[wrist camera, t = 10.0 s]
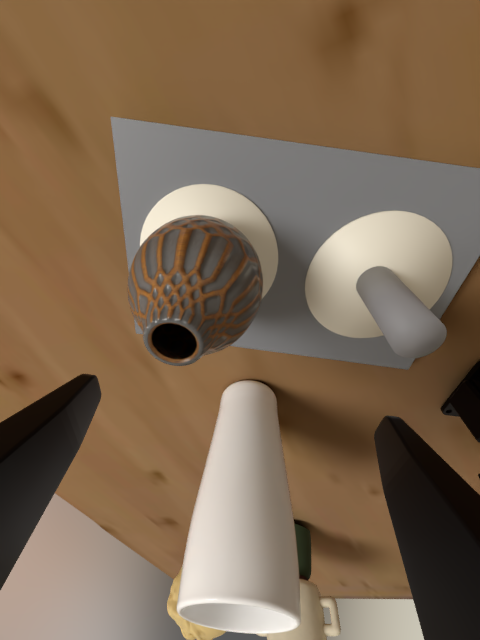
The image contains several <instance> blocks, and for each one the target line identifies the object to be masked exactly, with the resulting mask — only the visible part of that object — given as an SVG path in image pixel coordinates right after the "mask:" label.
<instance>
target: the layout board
mask: <svg viewBox="0 0 480 640" xmlns="http://www.w3.org/2000/svg"><path fill="white" fill-rule="evenodd" d="M111 124H112V132H113V141H114V149H115V158H116V166H117V175H118V184H119V192H120V201H121V209H122V218H123V226H124V235H125V243H126V252H127V260H128V269H129V273H130V269H131V265H132V262H133V260H134V257H135V255H136V253H137V251H138V250H139V248H140V246H141V245H142V243H143V242H144V241H145V240H146V239H147V238H148V237H149V236H150V235H151V234H152V233H153V232H154V231H155V230H157V229H158V228H159V227H161V226H162V225H164V224H166V223H168V222H170V221H172V220H174V219H177V218H180V217H183V216H190V215H206V216H212V217H216V218H219V219H221V220H224V221H226V222H228V223H230V224H231V225H233V226H234V227H236V228H237V229H238V230H239V231H241V232H242V233H243V234H244V235H245V236H246V238H247V239H248V240H249V241H250V243H251V244H252V246H253V247H254V249H255V251H256V253H257V255H258V258H259V261H260V264H261V269H262V275H263V292H262V299H261V303H260V306H259V309H258V312H257V314H256V316H255V318H254V320H253V321H252V323H251V325H250V326H249V328H248V329H247V330H246V331H245V333H244V334H243V335H242V336H241V337H240V338H239V339H238V340H237V341H235V342H234V343H233V344H231V345H230V346H235V347H243V348H250V349H258V350H265V351H272V352H280V353H287V354H295V355H302V356H310V357H317V358H325V359H332V360H340V361H347V362H355V363H362V364H370V365H377V366H384V367H392V368H399V369H407V370H408V369H409V368H410V366H411V364H412V363H413V361H414V360H415V358H419V357H423V356H426V355H428V354H430V353H432V352H434V351H435V350H437V349H438V348H439V347H440V346H441V345H442V343H443V342H444V340H445V338H446V335H447V331H446V327H445V325H444V324H443V323H442V322H441V321H440V318H441V317H442V315H443V313H444V312H445V310H446V309H447V307H448V305H449V304H450V302H451V301H452V299H453V297H454V296H455V294H456V293H457V291H458V289H459V288H460V286H461V285H462V283H463V281H464V280H465V278H466V277H467V275H468V273H469V272H470V270H471V269H472V267H473V266H474V264H475V262H476V261H477V259H478V258H479V256H480V168H473V167H466V166H459V165H451V164H444V163H437V162H430V161H423V160H416V159H409V158H402V157H395V156H387V155H380V154H373V153H366V152H359V151H352V150H345V149H338V148H330V147H323V146H316V145H309V144H302V143H295V142H288V141H281V140H274V139H266V138H259V137H252V136H245V135H238V134H231V133H224V132H217V131H209V130H202V129H195V128H188V127H181V126H174V125H167V124H160V123H153V122H145V121H138V120H131V119H124V118H117V117H111ZM134 320H135V318H134ZM135 329H136V333H138V334H143V332H142V330H141V328H140V327H139V325H138V324H137V322H136V320H135Z"/></svg>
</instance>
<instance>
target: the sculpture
mask: <svg viewBox="0 0 480 640" xmlns="http://www.w3.org/2000/svg"><path fill="white" fill-rule="evenodd" d="M182 567H183V566H182ZM181 573H182V568H181V570H180V572H179V574H178V575H177V577H175V579H174V581H173V585H172V586H171V592H170V596H169V599H168V602H167V609H168V613H169V615H170V616H171V617H172V618H173V619H174V620H175V621H176V623H177V624H178V625H179V626H180V629H181V632H182V634H183V636H184V637H185V638H186V639H189V640H194V639H197V640H213V638H216V637H218V636H220V635H222V634H224V633H225V632H226V631H224V630H218V629H213V628H208V627H204V626H201V625H197V624H194V623H192V622H189V621H187V620H185V619H183V618H182V617H181V616H180V615H179V614H178V613H177V609H176V607H177V601H178V594H179V587H180V580H181Z"/></svg>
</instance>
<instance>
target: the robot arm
mask: <svg viewBox="0 0 480 640" xmlns="http://www.w3.org/2000/svg"><path fill="white" fill-rule="evenodd" d="M100 399H101V390H100V386H99V382H98V378H97V377H96V376H95V375H90V374H81V375H79V376H77V377H76V378H74V379H72V380H71V381H69V382H67V383H66V384H64V385H62V386H61V387H59V388H57V389H56V390H54V391H52V392H51V393H49V394H47V395H46V396H44V397H42V398H41V399H39V400H37V401H36V402H34V403H32V404H31V405H29V406H27V407H26V408H24V409H22V410H21V411H19V412H17V413H16V414H14V415H12V416H11V417H9V418H7V419H6V420H4V421H2V422H1V423H0V590H1V588H2V586H3V585H4V583H5V581H6V579H7V577H8V576H9V574H10V572H11V570H12V568H13V567H14V565H15V563H16V561H17V559H18V558H19V556H20V554H21V552H22V550H23V549H24V547H25V545H26V543H27V541H28V540H29V538H30V536H31V534H32V533H33V531H34V529H35V527H36V525H37V524H38V522H39V520H40V518H41V516H42V515H43V513H44V511H45V509H46V507H47V505H48V504H49V502H50V500H51V498H52V496H53V495H54V493H55V491H56V489H57V488H58V486H59V484H60V482H61V480H62V479H63V477H64V475H65V473H66V471H67V470H68V468H69V466H70V464H71V463H72V461H73V459H74V457H75V455H76V453H77V452H78V450H79V448H80V446H81V444H82V441H83V439H84V437H85V435H86V432H87V430H88V428H89V425H90V423H91V421H92V418H93V416H94V414H95V411H96V409H97V407H98V404H99V402H100ZM441 411H442V413H443V414H445V415H450V416H458V417H460V418H461V419H462V421H463V422H464V423H465V425H466V426H467V428H468V429H469V430H470V432H471V433H472V435H473V436H474V437H475V439H476V440H477V441H478V442H479V443H480V361H479V362H477V363H476V364H475V366H474V367H473V368H472V369H471V371H470V372H469V373H468V374H467V376H466V377H465V378H464V379H463V381H462V382H461V383H460V384H459V386H458V387H457V388H456V389H455V391H454V392H453V393H452V394H451V396H450V397H449V398H448V399H447V401H446V402H445V403H444V404H443V406H442V407H441ZM374 439H375V445H376V451H377V457H378V463H379V469H380V475H381V481H382V486H383V490H384V494H385V498H386V502H387V506H388V509H389V513H390V517H391V520H392V524H393V527H394V531H395V535H396V538H397V542H398V546H399V549H400V553H401V556H402V560H403V564H404V567H405V571H406V574H407V578H408V582H409V585H410V589H411V593H412V596H413V600H414V603H415V607H416V611H417V614H418V618H419V622H420V625H421V629H422V632H423V636H424V640H480V495H479V494H478V493H477V492H476V491H475V490H474V489H473V488H472V487H471V486H470V485H469V484H468V483H467V482H466V481H465V480H464V479H463V478H462V477H461V476H459V475H458V474H457V473H456V472H455V471H454V470H453V469H452V468H451V467H450V466H449V465H448V464H447V463H446V462H445V461H444V460H443V459H442V458H441V457H440V456H439V455H438V454H437V453H436V452H435V451H434V450H433V449H432V448H431V447H430V446H429V445H428V444H427V443H426V442H425V441H424V440H423V439H422V438H421V437H420V436H419V435H418V434H417V433H416V432H415V431H414V430H412V429H411V428H410V427H409V426H408V425H407V424H406V423H405V422H404V421H403V420H402V419H401V418H399V417H394V416H385V417H384V418H383V419H382V421H381V422H380V424H379V426H378V427H377V429H376V431H375V434H374ZM478 476H479V478H480V474H478Z"/></svg>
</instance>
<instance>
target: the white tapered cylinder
mask: <svg viewBox="0 0 480 640" xmlns="http://www.w3.org/2000/svg"><path fill="white" fill-rule="evenodd" d="M176 609H177V613H178V614H179V615H180V616H181V617H182V618H183V619H185V620H187V621H189V622H192V623H194V624H197V625H201V626H204V627H208V628H213V629H218V630H224V631H231V632H240V633H256V634H269V633H281V632H287V631H291V630H294V629H296V628H297V627H298V626H299V625H300V624H301V604H300V581H299V565H298V553H297V542H296V533H295V525H294V517H293V511H292V504H291V498H290V491H289V485H288V479H287V472H286V466H285V460H284V453H283V447H282V440H281V434H280V427H279V420H278V410H277V399H276V396H275V394H274V392H273V391H272V390H271V389H270V388H269V387H268V386H266V385H265V384H263V383H261V382H257V381H252V380H243V381H238V382H235V383H233V384H231V385H230V386H228V387H227V388H226V389H225V391H224V392H223V394H222V397H221V403H220V409H219V414H218V418H217V422H216V426H215V430H214V434H213V438H212V442H211V445H210V449H209V453H208V457H207V461H206V465H205V468H204V472H203V476H202V480H201V484H200V487H199V491H198V495H197V499H196V503H195V507H194V511H193V515H192V519H191V524H190V529H189V533H188V539H187V544H186V549H185V555H184V561H183V567H182V573H181V580H180V587H179V594H178V601H177V607H176Z"/></svg>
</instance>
